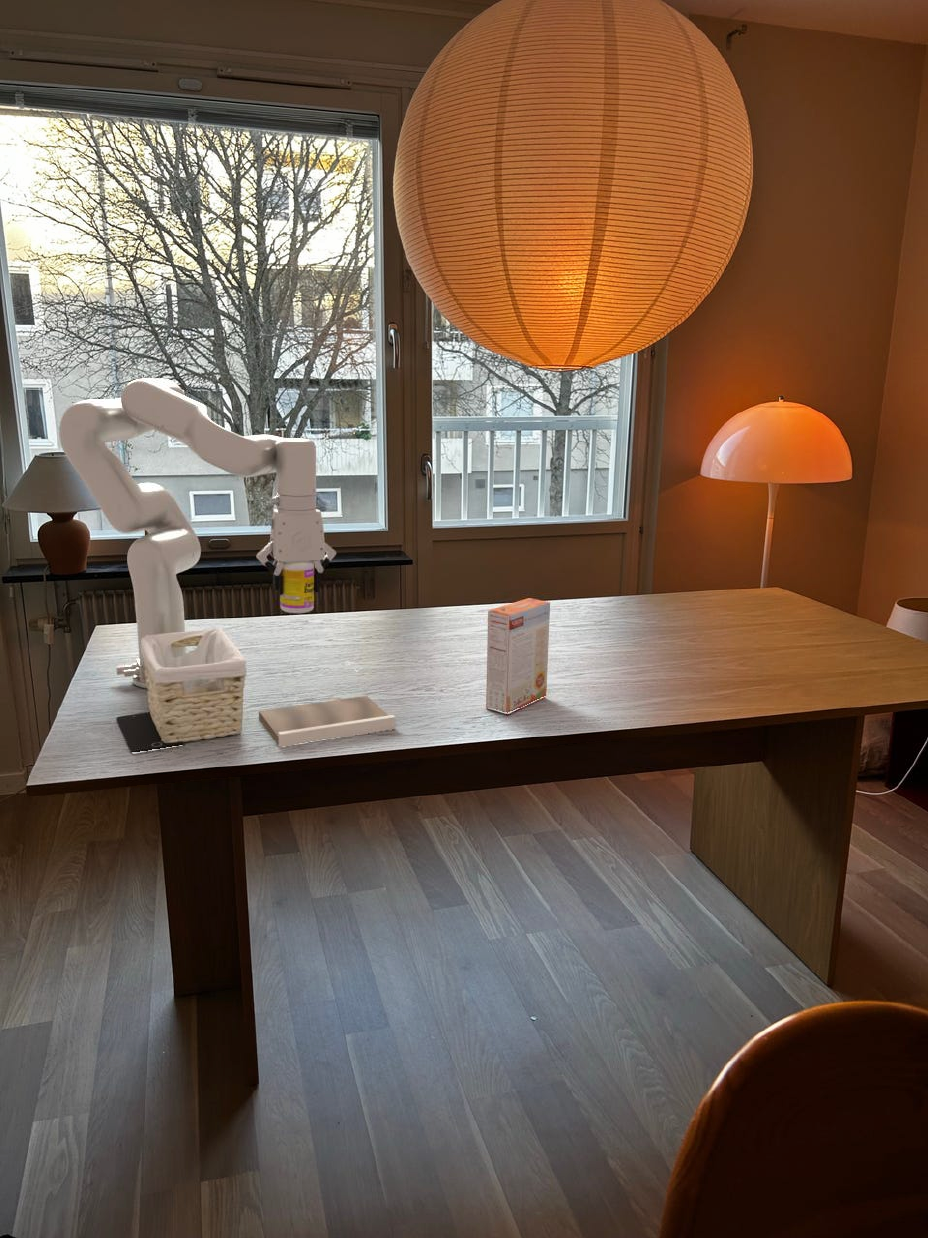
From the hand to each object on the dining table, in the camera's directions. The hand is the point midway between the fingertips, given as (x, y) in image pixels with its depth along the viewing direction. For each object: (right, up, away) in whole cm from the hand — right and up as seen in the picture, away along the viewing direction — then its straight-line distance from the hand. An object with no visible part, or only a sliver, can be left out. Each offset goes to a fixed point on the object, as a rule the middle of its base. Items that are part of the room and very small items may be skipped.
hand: (297, 591), depth 179 cm
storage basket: (-18, -25, -8) cm, 32 cm away
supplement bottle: (0, -4, +1) cm, 4 cm away
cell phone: (-24, -27, -15) cm, 39 cm away
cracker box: (+44, -23, +5) cm, 50 cm away
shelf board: (+7, -25, -8) cm, 27 cm away
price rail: (+10, -27, -14) cm, 32 cm away
